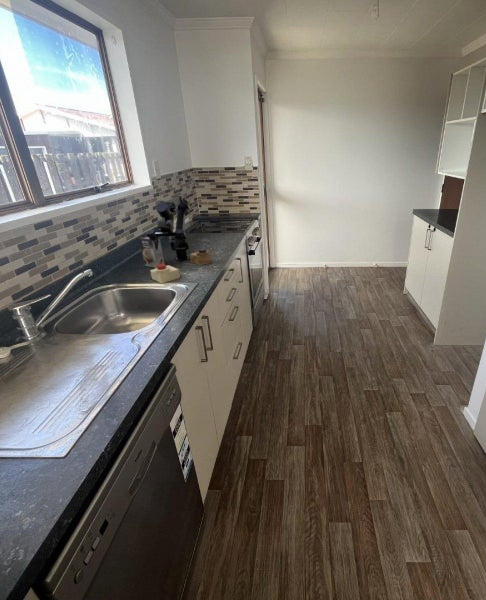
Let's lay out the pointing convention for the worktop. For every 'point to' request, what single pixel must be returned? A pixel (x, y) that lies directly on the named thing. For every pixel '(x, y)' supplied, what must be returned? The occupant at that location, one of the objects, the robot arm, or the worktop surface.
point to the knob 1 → (161, 266)
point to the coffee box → (151, 252)
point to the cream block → (165, 274)
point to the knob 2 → (202, 250)
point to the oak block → (200, 258)
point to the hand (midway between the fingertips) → (165, 249)
